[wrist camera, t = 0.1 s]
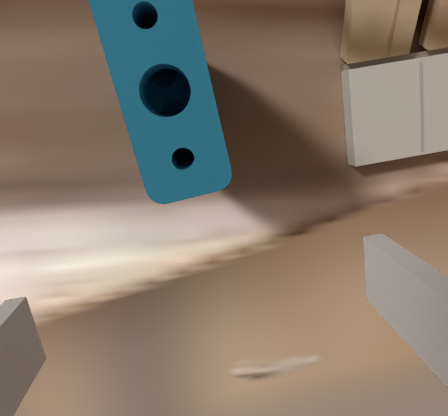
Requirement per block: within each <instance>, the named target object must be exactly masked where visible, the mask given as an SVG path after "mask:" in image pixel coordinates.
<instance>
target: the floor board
mask: <svg viewBox="0 0 448 416" xmlns="http://www.w3.org/2000/svg"><path fill="white" fill-rule="evenodd" d="M341 78H342V92H343V105H344V119H345V133H346V146H347V160H348V164H349V165H352V166H355V167H356V166H362V165H368V164H373V163H379V162H384V161H390V160H396V159H401V158H407V157H413V156H418V155H424V154H429V153H435V152H441V151H446V150H448V47H446V48H440V49H434V50H428V51H422V52H416V53H410V54H404V55H398V56H392V57H386V58H380V59H374V60H368V61H362V62H356V63H350V64H344V65H341Z"/></svg>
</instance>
